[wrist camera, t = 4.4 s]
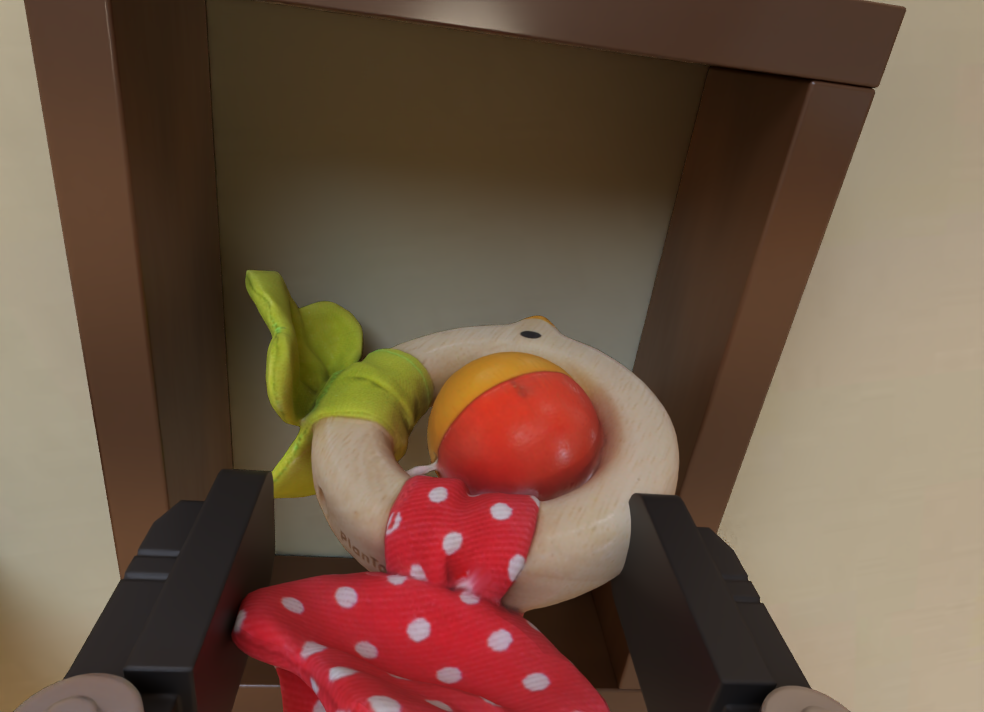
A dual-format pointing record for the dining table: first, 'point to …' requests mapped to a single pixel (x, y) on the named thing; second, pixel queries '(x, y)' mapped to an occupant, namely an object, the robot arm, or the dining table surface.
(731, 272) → the crate
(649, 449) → the teething ring toy
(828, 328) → the dining table surface
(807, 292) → the dining table surface
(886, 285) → the dining table surface
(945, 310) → the dining table surface
